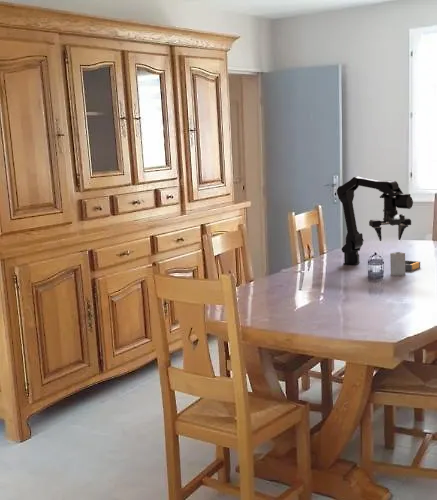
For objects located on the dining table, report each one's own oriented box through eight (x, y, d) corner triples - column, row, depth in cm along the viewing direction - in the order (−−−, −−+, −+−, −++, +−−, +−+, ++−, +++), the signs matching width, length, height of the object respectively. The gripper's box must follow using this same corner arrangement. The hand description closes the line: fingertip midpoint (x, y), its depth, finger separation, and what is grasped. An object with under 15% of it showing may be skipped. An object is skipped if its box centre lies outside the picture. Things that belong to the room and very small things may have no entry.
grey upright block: (390, 275, 296) (390, 252, 295) (399, 273, 298) (399, 251, 297) (396, 276, 293) (396, 253, 291) (405, 274, 295) (405, 252, 293)
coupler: (393, 269, 307) (393, 263, 306) (402, 266, 313) (402, 260, 313) (411, 271, 301) (411, 265, 300) (420, 268, 307) (420, 261, 307)
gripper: (376, 210, 298) (376, 244, 301) (416, 208, 300) (415, 242, 303) (368, 208, 309) (368, 240, 312) (406, 205, 311) (406, 238, 314)
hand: (390, 240), depth 310 cm, fingers open, 9 cm apart
